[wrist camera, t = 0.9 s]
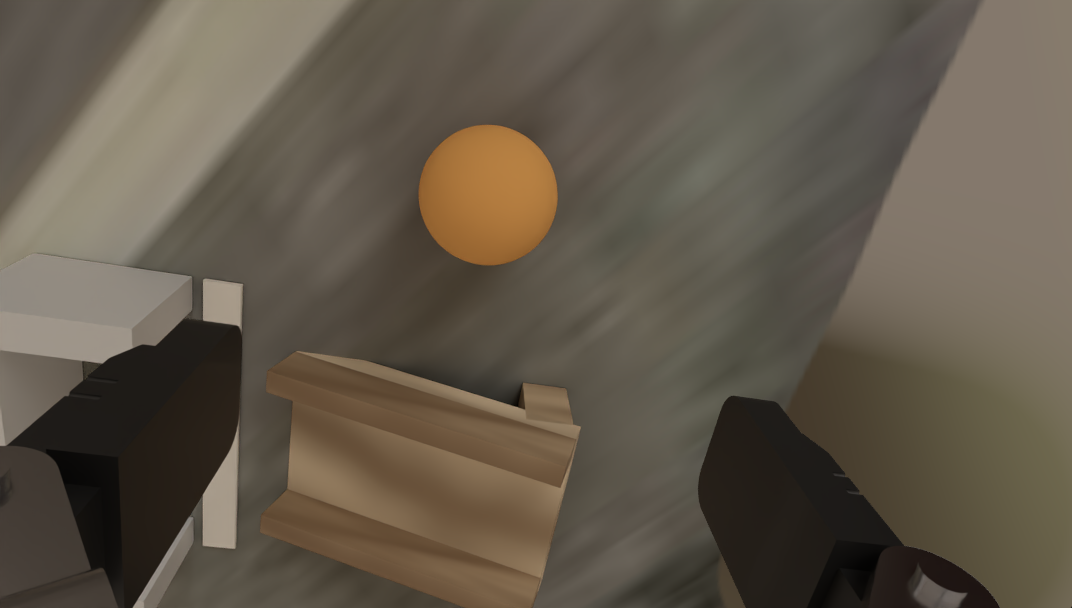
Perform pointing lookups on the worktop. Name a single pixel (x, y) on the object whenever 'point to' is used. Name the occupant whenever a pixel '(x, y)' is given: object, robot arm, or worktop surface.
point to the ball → (488, 195)
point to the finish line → (223, 489)
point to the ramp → (422, 478)
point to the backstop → (81, 344)
